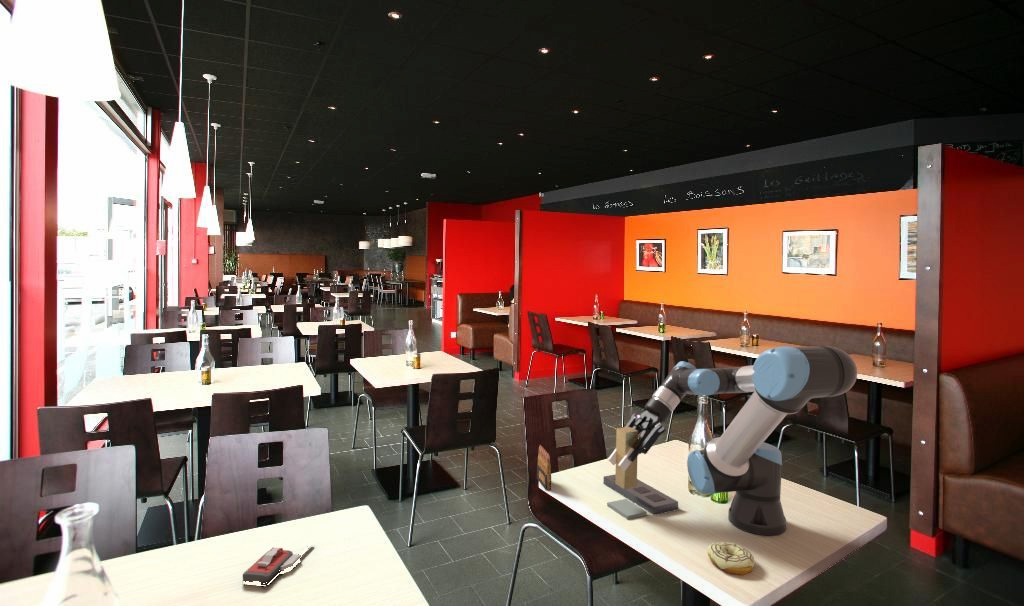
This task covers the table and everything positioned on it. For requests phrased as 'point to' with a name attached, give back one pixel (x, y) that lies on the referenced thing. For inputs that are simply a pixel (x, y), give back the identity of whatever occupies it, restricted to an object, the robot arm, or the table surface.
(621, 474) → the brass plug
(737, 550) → the decorated donut
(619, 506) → the rubber mat
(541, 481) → the brown upright box
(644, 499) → the dark square socket tray
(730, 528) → the table surface
